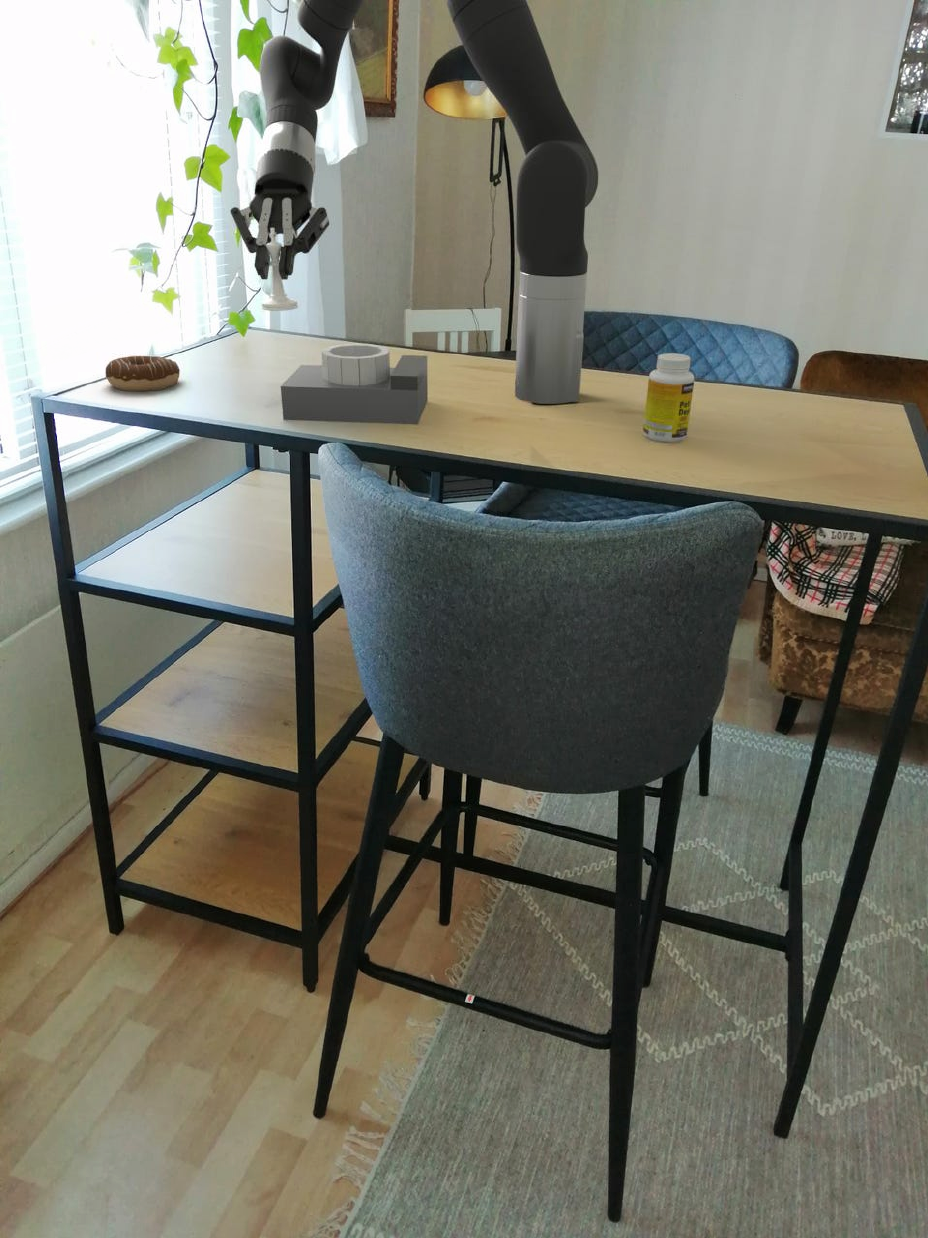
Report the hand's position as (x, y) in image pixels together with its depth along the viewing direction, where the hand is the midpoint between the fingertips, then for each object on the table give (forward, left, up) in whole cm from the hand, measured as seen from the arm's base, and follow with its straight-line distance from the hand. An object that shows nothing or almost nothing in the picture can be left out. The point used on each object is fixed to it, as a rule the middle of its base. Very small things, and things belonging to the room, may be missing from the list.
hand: (273, 275), depth 122 cm
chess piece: (0, -2, -5) cm, 5 cm away
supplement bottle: (-52, +9, -17) cm, 55 cm away
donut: (+23, -9, -18) cm, 30 cm away
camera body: (-11, +1, -17) cm, 20 cm away
